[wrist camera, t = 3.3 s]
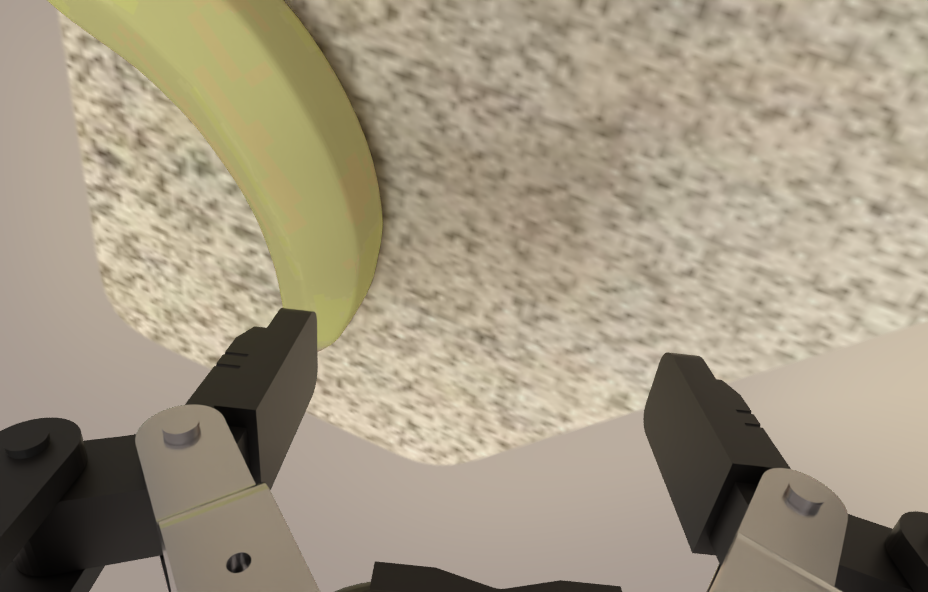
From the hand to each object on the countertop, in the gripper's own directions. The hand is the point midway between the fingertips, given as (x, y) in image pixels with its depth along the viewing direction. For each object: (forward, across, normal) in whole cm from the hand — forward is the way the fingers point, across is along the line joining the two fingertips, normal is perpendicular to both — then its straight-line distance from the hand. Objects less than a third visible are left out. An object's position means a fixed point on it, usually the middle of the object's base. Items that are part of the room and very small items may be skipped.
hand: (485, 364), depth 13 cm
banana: (+10, +4, +2) cm, 11 cm away
